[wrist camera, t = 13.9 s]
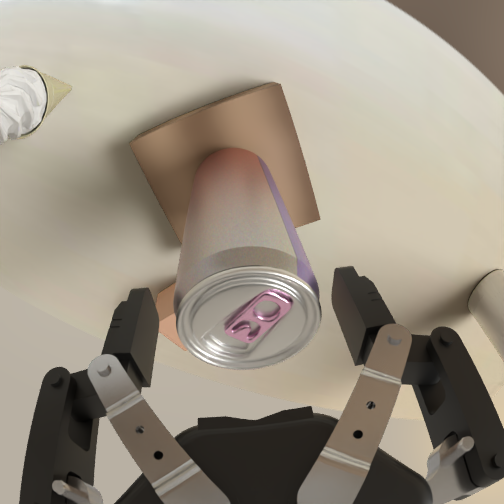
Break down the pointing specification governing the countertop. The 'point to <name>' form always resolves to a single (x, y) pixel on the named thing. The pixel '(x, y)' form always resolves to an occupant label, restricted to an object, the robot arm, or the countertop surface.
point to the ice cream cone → (26, 100)
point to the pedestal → (222, 137)
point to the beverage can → (242, 269)
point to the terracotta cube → (168, 315)
